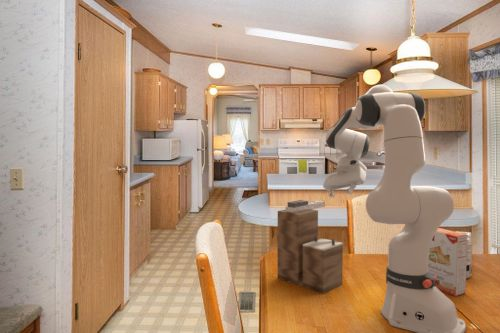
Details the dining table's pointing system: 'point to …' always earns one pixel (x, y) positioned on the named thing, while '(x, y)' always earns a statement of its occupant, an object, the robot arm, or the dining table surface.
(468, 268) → the supplement can
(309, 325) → the dining table surface
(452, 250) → the cracker box
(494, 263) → the dining table surface
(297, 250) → the stepped wooden blocks
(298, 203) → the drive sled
